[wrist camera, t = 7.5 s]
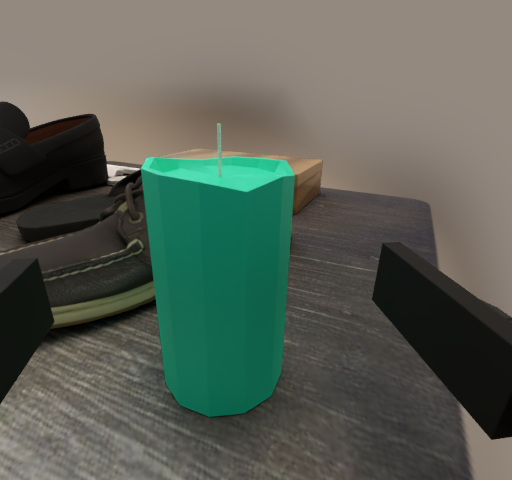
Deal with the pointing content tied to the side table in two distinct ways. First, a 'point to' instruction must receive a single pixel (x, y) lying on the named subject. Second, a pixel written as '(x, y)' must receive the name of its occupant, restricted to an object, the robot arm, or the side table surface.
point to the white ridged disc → (114, 180)
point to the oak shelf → (302, 168)
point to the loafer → (47, 156)
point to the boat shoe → (97, 263)
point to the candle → (220, 275)
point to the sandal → (69, 213)
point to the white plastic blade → (119, 170)
